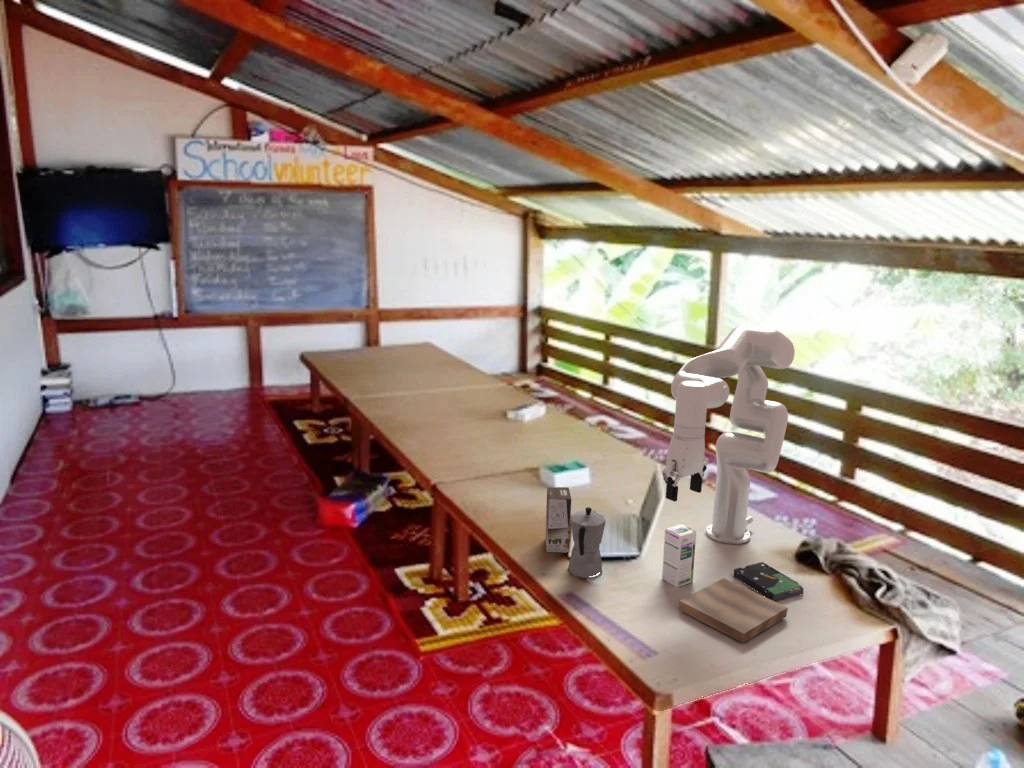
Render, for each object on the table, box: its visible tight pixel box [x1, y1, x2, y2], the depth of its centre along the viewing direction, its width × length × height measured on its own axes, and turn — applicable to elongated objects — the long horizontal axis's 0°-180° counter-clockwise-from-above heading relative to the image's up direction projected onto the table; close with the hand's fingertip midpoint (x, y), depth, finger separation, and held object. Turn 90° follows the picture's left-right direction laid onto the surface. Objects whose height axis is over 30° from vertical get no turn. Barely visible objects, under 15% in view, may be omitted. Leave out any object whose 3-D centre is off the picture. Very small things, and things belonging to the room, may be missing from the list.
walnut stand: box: [678, 577, 789, 644], centre depth 186 cm, size 18×18×3 cm
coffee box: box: [545, 486, 573, 554], centre depth 218 cm, size 9×6×16 cm
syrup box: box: [661, 523, 697, 588], centre depth 200 cm, size 6×6×14 cm
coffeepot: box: [567, 506, 606, 579], centre depth 203 cm, size 15×9×18 cm, turn 163°
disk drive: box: [733, 561, 804, 602], centre depth 201 cm, size 10×3×15 cm
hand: (683, 495), depth 196 cm, fingers open, 9 cm apart
